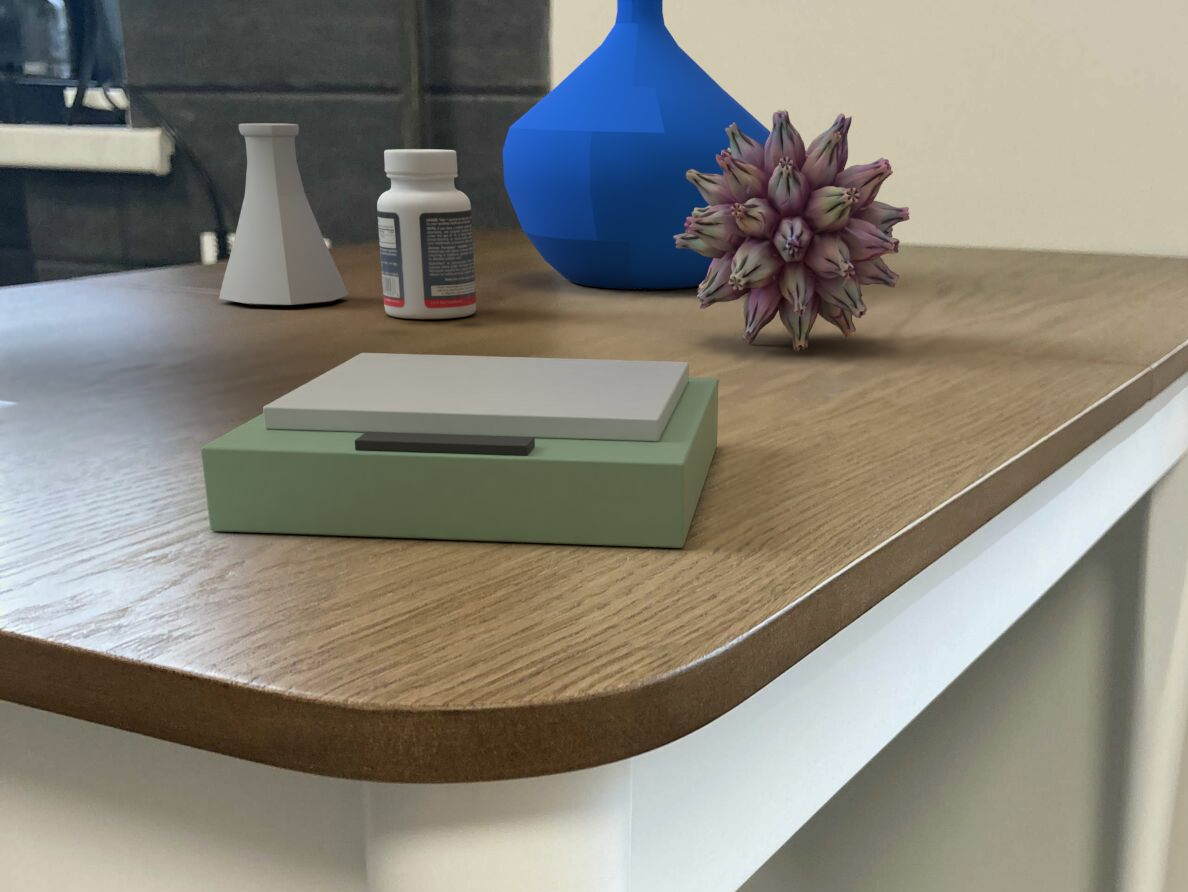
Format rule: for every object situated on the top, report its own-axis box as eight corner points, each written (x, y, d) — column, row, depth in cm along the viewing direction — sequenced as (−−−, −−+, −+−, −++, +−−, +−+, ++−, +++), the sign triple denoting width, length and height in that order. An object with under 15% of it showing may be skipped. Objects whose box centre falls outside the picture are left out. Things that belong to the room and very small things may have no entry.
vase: (453, 277, 105) (439, -33, 97) (654, 262, 116) (655, -16, 109) (622, 305, 93) (620, -47, 85) (827, 285, 104) (842, -27, 96)
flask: (197, 303, 90) (176, 123, 86) (277, 291, 96) (261, 122, 92) (293, 312, 88) (276, 126, 84) (370, 299, 94) (357, 124, 90)
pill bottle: (488, 310, 90) (481, 149, 86) (459, 322, 85) (451, 152, 81) (403, 307, 90) (393, 147, 87) (370, 318, 86) (358, 150, 82)
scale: (209, 531, 44) (196, 422, 43) (348, 433, 57) (342, 347, 56) (683, 549, 43) (684, 437, 42) (717, 445, 56) (719, 358, 55)
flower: (923, 374, 80) (822, 354, 70) (732, 343, 86) (613, 320, 76) (968, 145, 78) (869, 91, 67) (767, 128, 83) (649, 75, 73)
